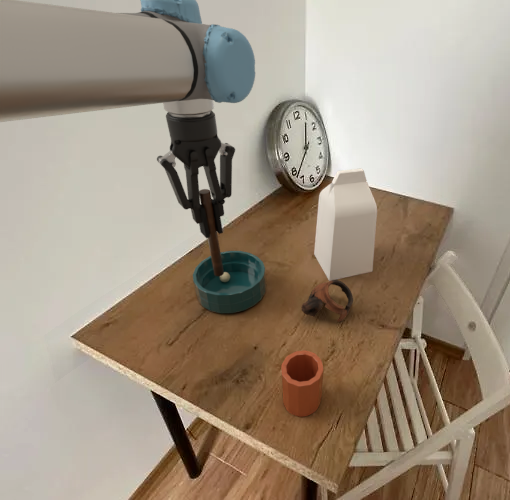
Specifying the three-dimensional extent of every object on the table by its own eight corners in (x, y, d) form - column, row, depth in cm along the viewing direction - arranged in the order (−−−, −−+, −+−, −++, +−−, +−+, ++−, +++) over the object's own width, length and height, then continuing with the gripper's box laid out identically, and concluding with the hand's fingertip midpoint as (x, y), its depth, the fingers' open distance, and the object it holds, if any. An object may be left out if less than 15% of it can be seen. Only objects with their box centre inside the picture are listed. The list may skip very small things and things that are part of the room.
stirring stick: (216, 277, 76) (201, 194, 65) (212, 272, 78) (197, 190, 66) (225, 274, 78) (211, 192, 66) (221, 269, 79) (207, 187, 67)
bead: (223, 285, 83) (221, 277, 82) (218, 280, 84) (217, 272, 83) (232, 281, 84) (231, 274, 83) (227, 276, 86) (226, 268, 84)
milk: (329, 280, 88) (335, 185, 72) (314, 254, 96) (316, 163, 81) (372, 271, 92) (386, 178, 76) (354, 246, 100) (363, 158, 85)
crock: (297, 424, 58) (297, 393, 53) (275, 395, 62) (273, 364, 57) (328, 401, 62) (331, 370, 57) (306, 375, 66) (306, 344, 61)
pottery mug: (322, 289, 86) (341, 271, 81) (343, 323, 83) (364, 305, 78) (284, 304, 77) (303, 284, 72) (307, 342, 74) (328, 324, 69)
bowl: (215, 326, 74) (211, 305, 70) (186, 286, 83) (181, 266, 79) (278, 295, 82) (277, 276, 79) (246, 262, 91) (244, 243, 88)
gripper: (223, 100, 64) (237, 213, 78) (133, 111, 55) (166, 235, 69) (243, 111, 59) (254, 229, 73) (148, 124, 51) (181, 254, 65)
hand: (211, 232), depth 71 cm, fingers closed on stirring stick, 2 cm apart
